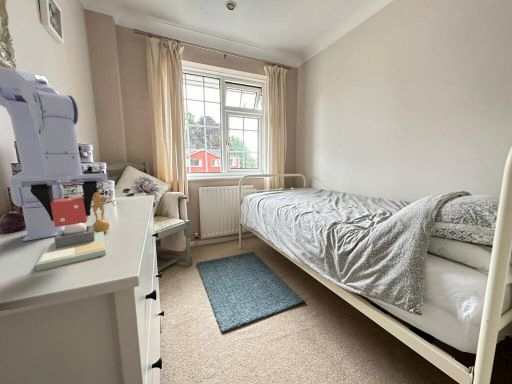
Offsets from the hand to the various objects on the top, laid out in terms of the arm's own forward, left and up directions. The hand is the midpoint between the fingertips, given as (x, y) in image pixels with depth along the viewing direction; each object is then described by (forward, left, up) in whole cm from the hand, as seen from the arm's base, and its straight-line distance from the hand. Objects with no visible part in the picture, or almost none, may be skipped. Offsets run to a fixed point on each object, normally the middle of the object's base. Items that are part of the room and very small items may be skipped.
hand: (72, 217), depth 45 cm
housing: (-8, -1, -8) cm, 11 cm away
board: (-4, -1, -9) cm, 10 cm away
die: (0, 0, -1) cm, 1 cm away
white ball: (-8, -1, -7) cm, 11 cm away
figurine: (-16, +4, -9) cm, 19 cm away
